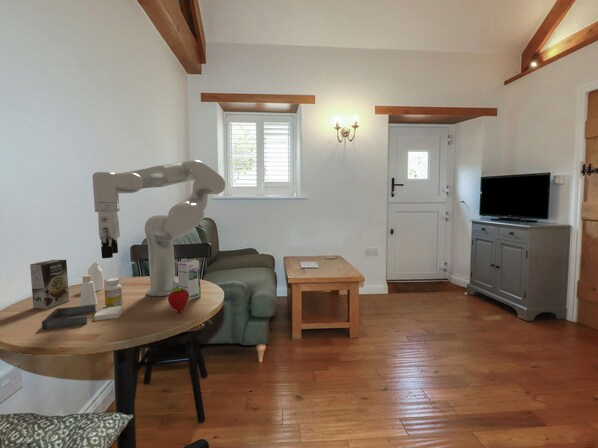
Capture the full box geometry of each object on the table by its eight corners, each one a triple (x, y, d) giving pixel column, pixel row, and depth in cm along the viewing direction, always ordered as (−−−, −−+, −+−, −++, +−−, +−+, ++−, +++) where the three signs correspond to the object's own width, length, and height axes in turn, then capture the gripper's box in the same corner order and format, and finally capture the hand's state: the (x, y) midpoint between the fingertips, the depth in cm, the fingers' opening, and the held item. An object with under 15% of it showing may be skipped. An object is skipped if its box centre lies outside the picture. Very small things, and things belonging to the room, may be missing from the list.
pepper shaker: (78, 305, 117) (75, 275, 116) (95, 301, 121) (93, 272, 120) (82, 308, 114) (79, 278, 113) (99, 304, 118) (97, 275, 117)
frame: (95, 311, 111) (95, 304, 111) (86, 324, 99) (85, 316, 99) (57, 315, 107) (56, 308, 107) (42, 330, 95) (41, 322, 95)
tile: (122, 311, 111) (122, 306, 111) (119, 318, 105) (118, 312, 105) (99, 314, 109) (98, 308, 109) (94, 322, 102) (93, 316, 102)
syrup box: (189, 300, 120) (187, 262, 119) (179, 298, 123) (177, 261, 122) (201, 296, 125) (199, 260, 124) (191, 294, 128) (189, 258, 127)
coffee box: (47, 309, 113) (43, 264, 112) (32, 308, 115) (28, 264, 113) (70, 301, 122) (67, 259, 121) (56, 300, 124) (53, 258, 122)
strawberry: (164, 315, 106) (162, 285, 105) (180, 308, 113) (179, 280, 112) (178, 317, 103) (176, 287, 102) (194, 310, 110) (192, 281, 109)
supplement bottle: (110, 303, 119) (108, 277, 118) (125, 303, 119) (123, 277, 118) (102, 308, 113) (100, 281, 112) (118, 308, 114) (116, 281, 113)
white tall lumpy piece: (83, 263, 134) (93, 260, 140) (85, 291, 135) (95, 287, 141) (95, 263, 133) (105, 260, 139) (98, 291, 134) (107, 287, 140)
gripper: (114, 208, 106) (117, 259, 108) (123, 206, 122) (126, 251, 124) (88, 208, 104) (91, 260, 105) (100, 207, 120) (103, 252, 121)
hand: (110, 255), depth 114 cm, fingers open, 9 cm apart
